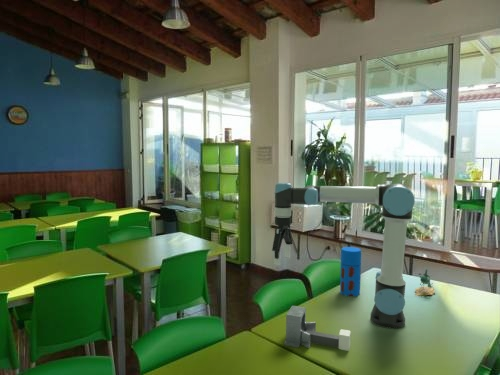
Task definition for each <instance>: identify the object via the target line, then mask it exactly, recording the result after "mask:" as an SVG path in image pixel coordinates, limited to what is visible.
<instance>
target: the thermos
mask: <svg viewBox="0 0 500 375" xmlns="http://www.w3.org/2000/svg"><path fill="white" fill-rule="evenodd" d="M361 271H362V249H361V248H359V247H354V246H345V247H342V248H341V249H340V275H339V276H340V277H339V278H340V281H339V283H340V284H339V290H340V291H339V292H340V294H341V295H343V296H345V295H346V297H350V296H355V297H359V296H360V295H361V294H360V293H361V277H362V272H361ZM358 295H359V296H358Z"/></svg>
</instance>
